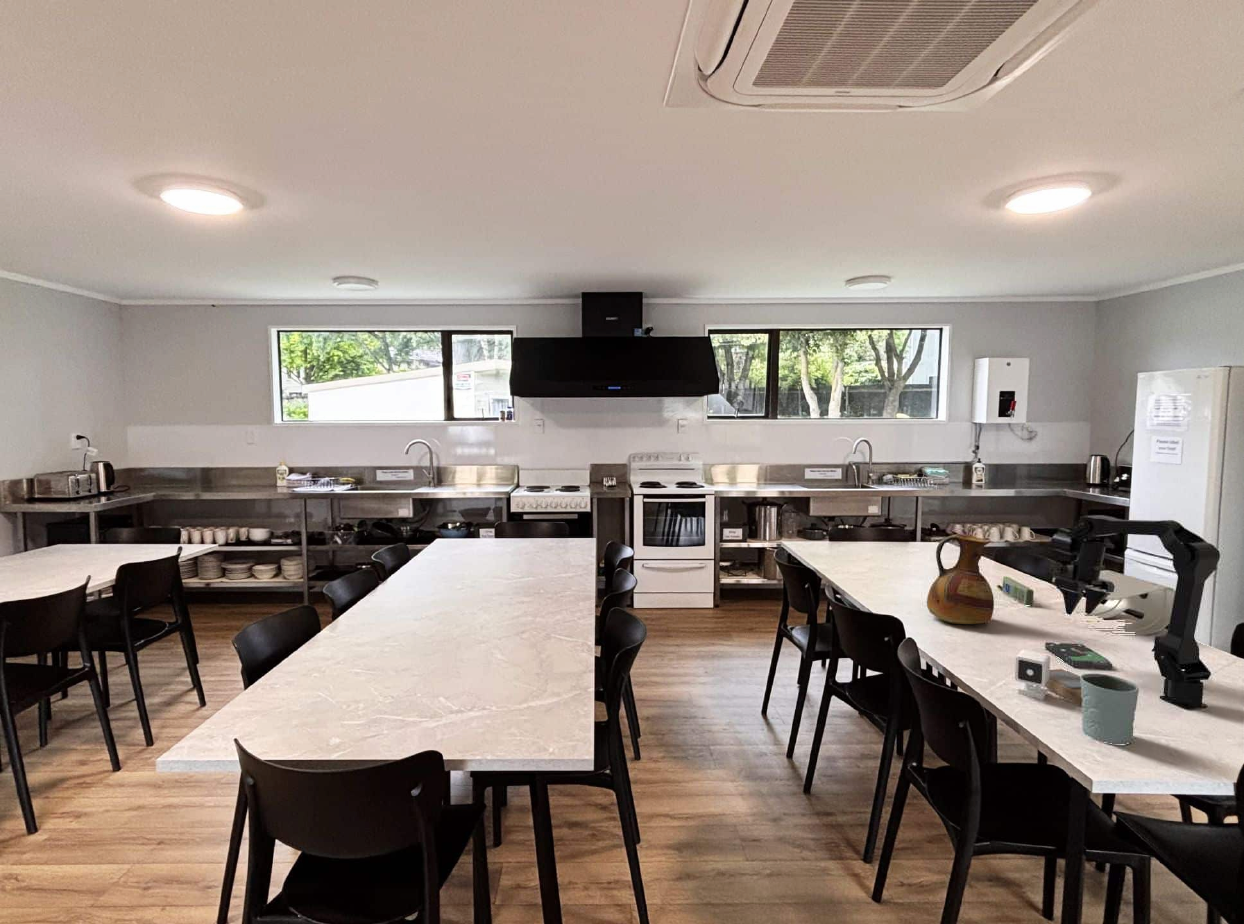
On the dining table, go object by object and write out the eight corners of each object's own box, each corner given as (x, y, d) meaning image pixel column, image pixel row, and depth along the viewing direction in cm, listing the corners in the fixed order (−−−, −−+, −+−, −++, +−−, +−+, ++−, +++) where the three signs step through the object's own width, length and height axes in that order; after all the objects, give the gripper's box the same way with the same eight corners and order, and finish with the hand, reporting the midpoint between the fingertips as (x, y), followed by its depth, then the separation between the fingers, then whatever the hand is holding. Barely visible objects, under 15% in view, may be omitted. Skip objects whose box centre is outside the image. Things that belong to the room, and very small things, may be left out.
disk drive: (1043, 651, 189) (1072, 669, 174) (1044, 642, 189) (1072, 659, 174) (1081, 652, 187) (1113, 671, 173) (1081, 643, 187) (1113, 661, 173)
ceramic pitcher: (999, 633, 203) (1002, 541, 201) (930, 626, 210) (933, 538, 208) (985, 615, 222) (988, 531, 220) (923, 610, 228) (925, 528, 226)
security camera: (1014, 694, 157) (1015, 655, 156) (1020, 686, 162) (1021, 648, 162) (1044, 702, 153) (1045, 662, 152) (1049, 693, 158) (1050, 654, 157)
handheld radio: (1024, 607, 232) (993, 589, 257) (1033, 607, 232) (1002, 589, 256) (1025, 589, 232) (995, 573, 256) (1035, 590, 231) (1003, 573, 256)
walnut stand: (1110, 703, 152) (1111, 689, 152) (1078, 706, 151) (1079, 692, 150) (1060, 680, 166) (1061, 667, 166) (1031, 682, 164) (1031, 669, 164)
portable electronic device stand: (1177, 635, 201) (1180, 587, 200) (1108, 637, 199) (1110, 589, 198) (1110, 611, 226) (1112, 569, 225) (1048, 612, 225) (1050, 570, 224)
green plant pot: (1086, 742, 134) (1088, 687, 133) (1071, 721, 143) (1073, 669, 142) (1144, 750, 130) (1147, 694, 129) (1125, 728, 140) (1128, 676, 139)
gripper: (1078, 553, 185) (1067, 603, 187) (1039, 551, 177) (1028, 604, 179) (1120, 563, 175) (1109, 617, 177) (1082, 562, 167) (1070, 618, 169)
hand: (1078, 613), depth 175 cm, fingers open, 9 cm apart
